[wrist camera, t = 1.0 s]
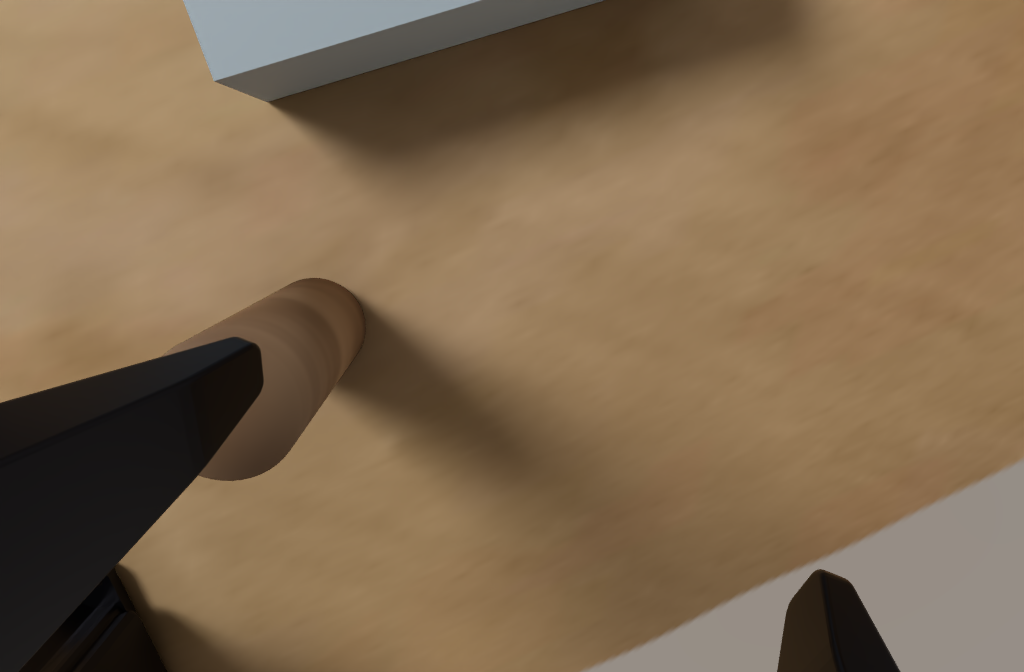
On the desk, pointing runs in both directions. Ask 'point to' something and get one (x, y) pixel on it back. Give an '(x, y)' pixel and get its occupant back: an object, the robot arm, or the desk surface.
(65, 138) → the desk surface
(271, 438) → the peg
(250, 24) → the socket block
